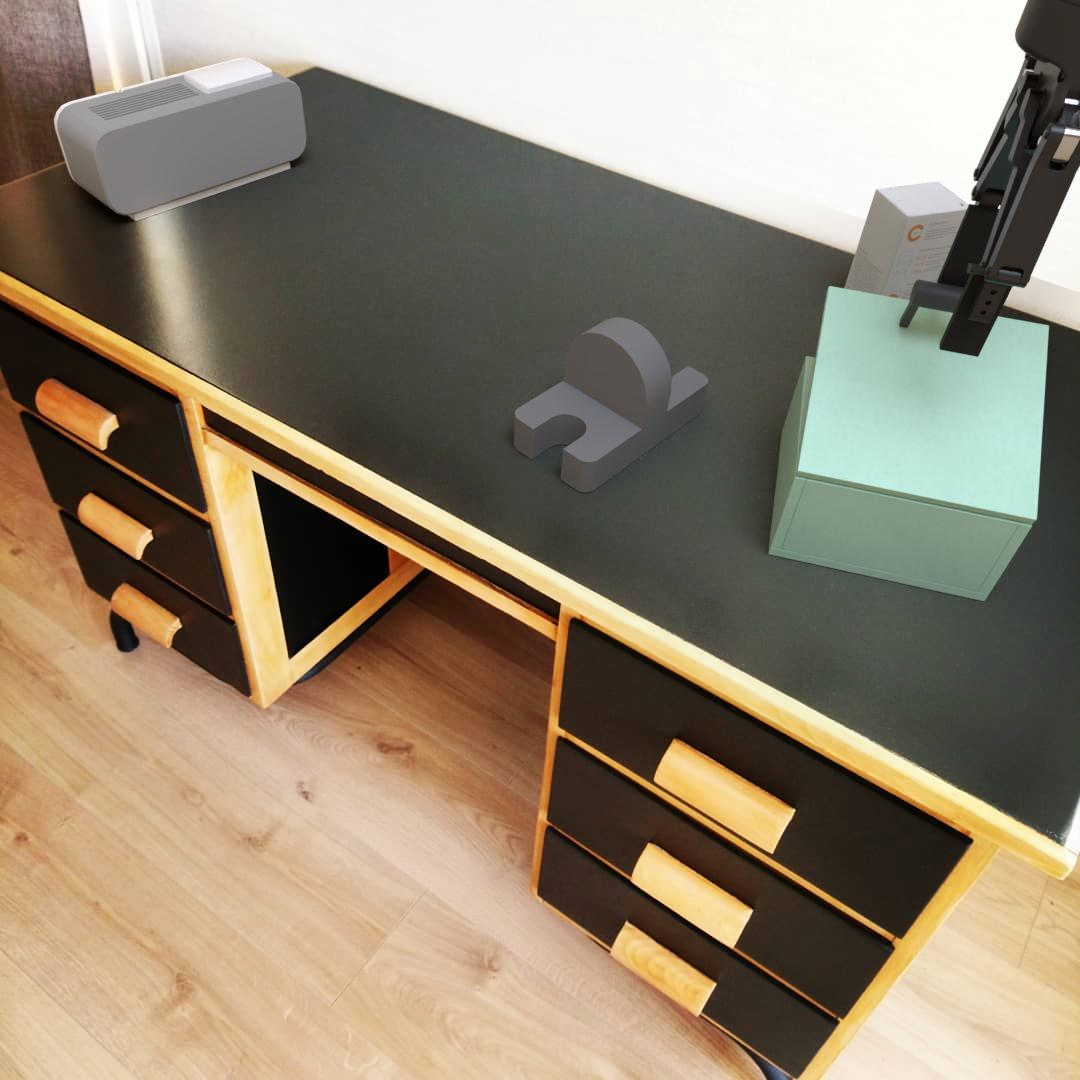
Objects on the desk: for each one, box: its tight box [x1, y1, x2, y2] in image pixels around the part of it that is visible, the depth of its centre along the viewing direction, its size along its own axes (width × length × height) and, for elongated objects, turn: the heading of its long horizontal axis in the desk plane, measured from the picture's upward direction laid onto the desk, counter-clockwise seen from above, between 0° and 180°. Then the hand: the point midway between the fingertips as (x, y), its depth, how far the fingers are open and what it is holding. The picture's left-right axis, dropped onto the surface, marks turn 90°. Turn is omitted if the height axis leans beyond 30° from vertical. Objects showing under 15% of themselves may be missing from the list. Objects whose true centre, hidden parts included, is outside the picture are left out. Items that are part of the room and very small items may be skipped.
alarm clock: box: [53, 56, 308, 222], centre depth 113 cm, size 27×9×12 cm, turn 136°
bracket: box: [512, 316, 709, 493], centre depth 86 cm, size 10×18×11 cm, turn 137°
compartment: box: [767, 355, 1033, 602], centre depth 80 cm, size 17×18×9 cm
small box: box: [843, 181, 969, 300], centre depth 102 cm, size 8×6×13 cm
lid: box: [796, 279, 1050, 525], centre depth 72 cm, size 18×18×6 cm
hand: (956, 316), depth 70 cm, fingers open, 8 cm apart
